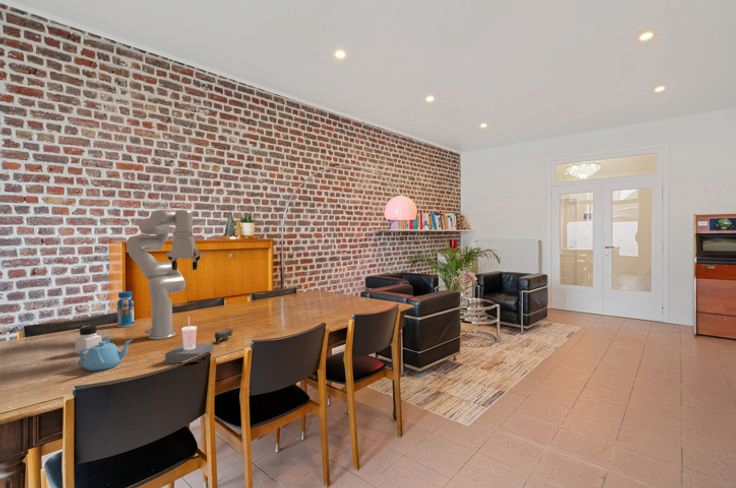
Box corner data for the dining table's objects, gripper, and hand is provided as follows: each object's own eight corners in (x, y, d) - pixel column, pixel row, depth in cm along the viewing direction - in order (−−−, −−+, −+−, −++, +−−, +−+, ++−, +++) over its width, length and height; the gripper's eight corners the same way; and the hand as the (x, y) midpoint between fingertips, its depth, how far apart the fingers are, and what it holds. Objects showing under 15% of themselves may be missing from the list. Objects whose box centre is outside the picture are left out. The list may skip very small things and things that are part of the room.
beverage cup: (178, 349, 157) (177, 317, 157) (190, 345, 163) (189, 314, 163) (189, 351, 155) (188, 318, 155) (200, 346, 161) (199, 315, 161)
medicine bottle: (102, 350, 169) (101, 325, 169) (86, 355, 162) (85, 328, 162) (91, 349, 171) (90, 323, 171) (75, 353, 165) (74, 327, 164)
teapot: (72, 370, 145) (71, 344, 145) (111, 357, 159) (110, 334, 159) (95, 375, 140) (94, 349, 139) (133, 362, 154) (132, 338, 153)
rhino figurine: (236, 337, 191) (236, 325, 191) (219, 344, 178) (219, 332, 178) (229, 336, 192) (229, 325, 192) (212, 344, 179) (212, 331, 179)
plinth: (165, 363, 152) (165, 353, 152) (181, 352, 166) (181, 343, 166) (199, 362, 152) (199, 353, 152) (212, 352, 166) (212, 343, 166)
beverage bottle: (113, 327, 212) (112, 293, 211) (125, 323, 220) (124, 290, 220) (126, 327, 211) (125, 293, 210) (137, 324, 219) (137, 291, 218)
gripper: (162, 235, 175) (163, 270, 176) (198, 235, 176) (199, 270, 176) (170, 235, 183) (171, 269, 183) (205, 235, 183) (205, 269, 184)
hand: (184, 269), depth 180 cm, fingers open, 9 cm apart
